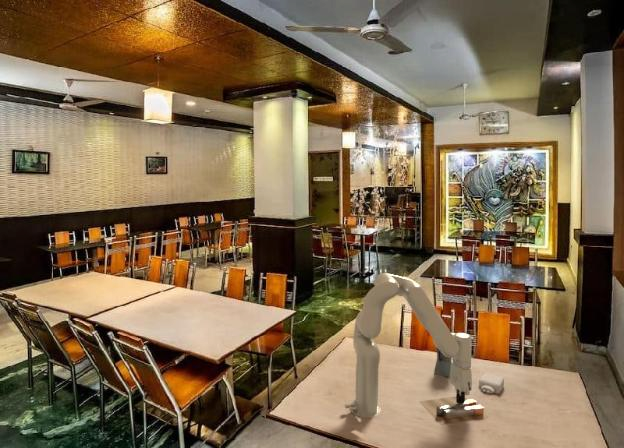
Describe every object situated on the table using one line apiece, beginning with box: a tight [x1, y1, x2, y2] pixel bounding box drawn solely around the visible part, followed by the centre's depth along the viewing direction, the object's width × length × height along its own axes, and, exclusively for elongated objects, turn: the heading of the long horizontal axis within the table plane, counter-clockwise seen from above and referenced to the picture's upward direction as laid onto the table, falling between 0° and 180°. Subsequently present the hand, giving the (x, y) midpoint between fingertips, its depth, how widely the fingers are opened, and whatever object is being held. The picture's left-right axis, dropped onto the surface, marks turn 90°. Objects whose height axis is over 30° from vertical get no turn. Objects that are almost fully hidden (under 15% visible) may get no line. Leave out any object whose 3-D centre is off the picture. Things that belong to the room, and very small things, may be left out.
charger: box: [478, 372, 505, 395], centre depth 196 cm, size 5×9×15 cm
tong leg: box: [436, 398, 477, 417], centre depth 176 cm, size 19×3×3 cm, turn 109°
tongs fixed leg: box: [444, 404, 485, 419], centre depth 172 cm, size 17×2×3 cm, turn 104°
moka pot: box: [433, 347, 453, 378], centre depth 211 cm, size 10×15×20 cm, turn 148°
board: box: [418, 396, 489, 425], centre depth 178 cm, size 22×18×1 cm
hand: (460, 402), depth 180 cm, fingers closed
